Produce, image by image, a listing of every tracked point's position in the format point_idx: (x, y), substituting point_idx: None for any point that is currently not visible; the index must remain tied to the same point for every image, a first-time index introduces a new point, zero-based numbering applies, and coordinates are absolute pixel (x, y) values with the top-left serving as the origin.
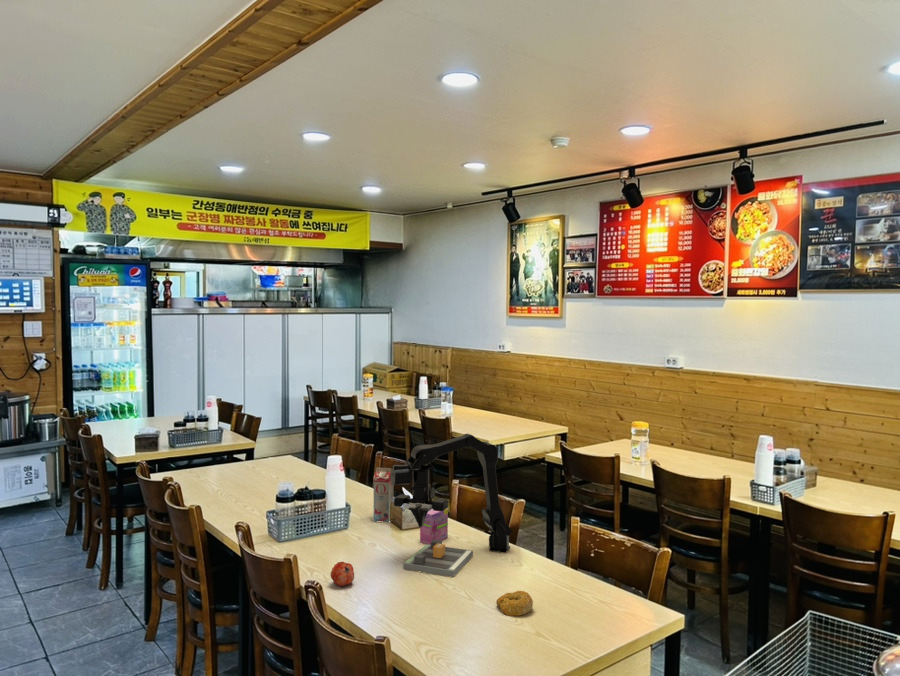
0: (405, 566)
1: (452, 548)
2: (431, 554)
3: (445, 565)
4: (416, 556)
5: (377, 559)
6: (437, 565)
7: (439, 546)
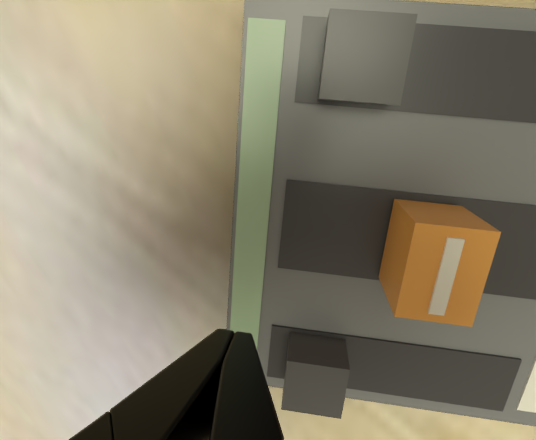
0: None
1: (507, 40)
2: (352, 220)
3: (486, 372)
4: (296, 407)
5: (44, 265)
6: (433, 379)
7: (450, 292)
